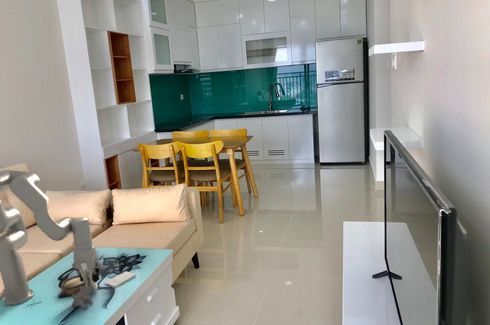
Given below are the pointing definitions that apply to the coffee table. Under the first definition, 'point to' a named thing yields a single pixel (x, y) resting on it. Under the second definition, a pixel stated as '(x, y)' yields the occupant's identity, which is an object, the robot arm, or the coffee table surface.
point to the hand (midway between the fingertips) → (90, 280)
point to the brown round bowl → (71, 285)
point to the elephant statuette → (83, 297)
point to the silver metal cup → (87, 276)
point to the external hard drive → (120, 279)
